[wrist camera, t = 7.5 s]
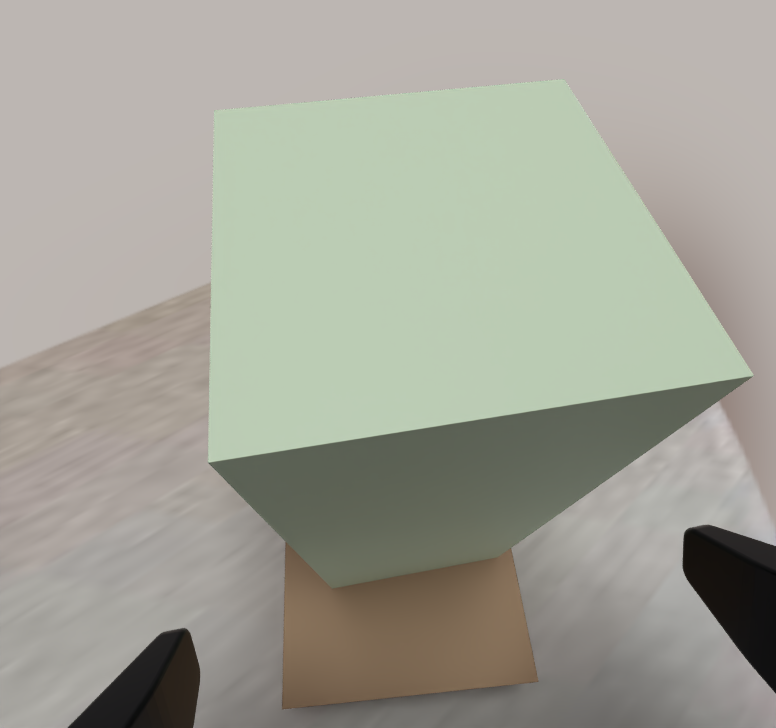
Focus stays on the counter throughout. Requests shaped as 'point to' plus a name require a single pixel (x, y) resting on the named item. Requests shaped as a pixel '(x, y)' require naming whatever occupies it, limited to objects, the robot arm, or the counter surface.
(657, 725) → the counter surface
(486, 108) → the carton
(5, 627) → the counter surface
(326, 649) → the podium
